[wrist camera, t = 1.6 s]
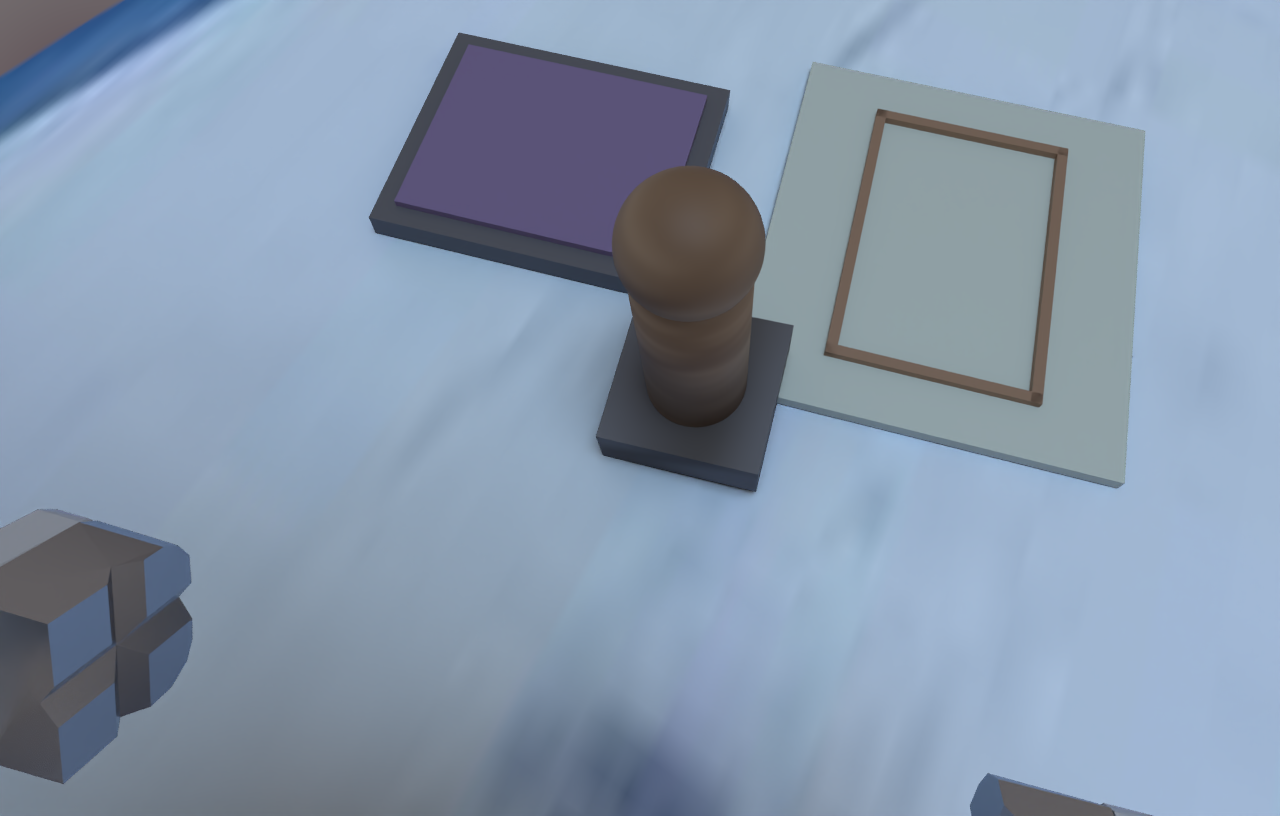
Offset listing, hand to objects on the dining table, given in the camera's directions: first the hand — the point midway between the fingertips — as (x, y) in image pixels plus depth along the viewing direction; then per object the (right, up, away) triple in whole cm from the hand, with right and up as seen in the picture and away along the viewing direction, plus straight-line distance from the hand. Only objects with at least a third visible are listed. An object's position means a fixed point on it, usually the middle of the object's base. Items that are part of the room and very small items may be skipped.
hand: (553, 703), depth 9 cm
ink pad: (-2, +13, +28) cm, 31 cm away
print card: (+13, +9, +26) cm, 30 cm away
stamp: (+3, +3, +23) cm, 23 cm away
